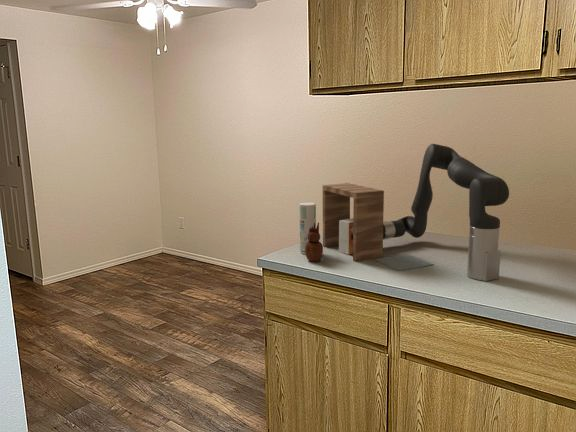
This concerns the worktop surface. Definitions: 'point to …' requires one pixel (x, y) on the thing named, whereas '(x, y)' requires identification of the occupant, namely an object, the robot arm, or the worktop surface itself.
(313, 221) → the spray can
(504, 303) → the worktop surface
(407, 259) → the mat
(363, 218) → the arch
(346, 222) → the small box
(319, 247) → the wooden figurine
